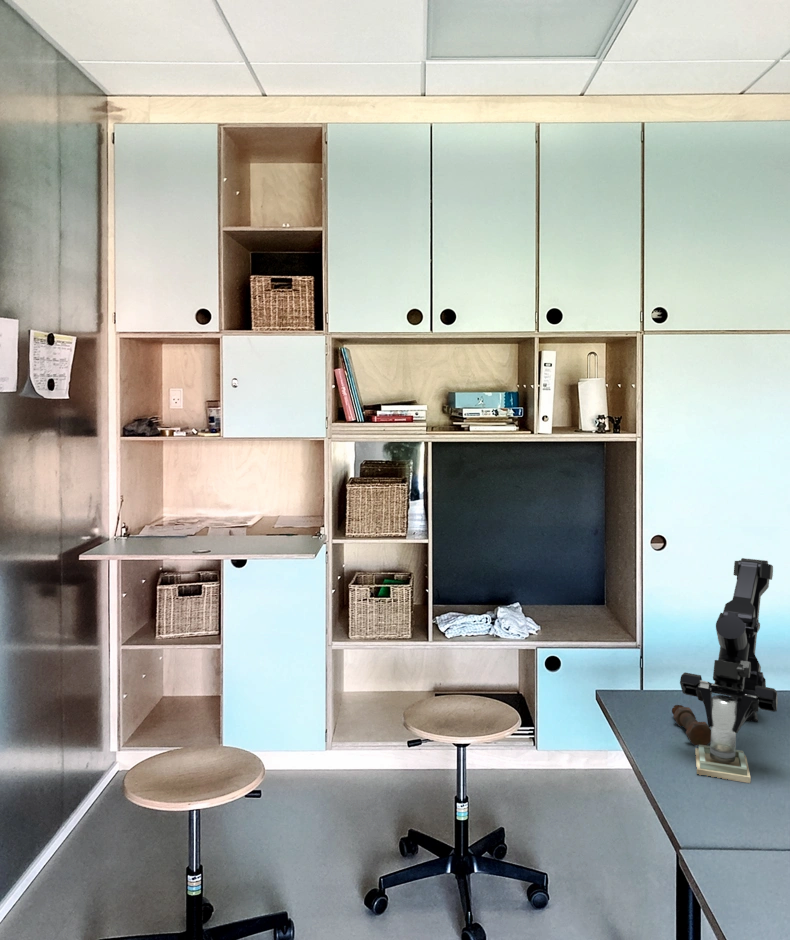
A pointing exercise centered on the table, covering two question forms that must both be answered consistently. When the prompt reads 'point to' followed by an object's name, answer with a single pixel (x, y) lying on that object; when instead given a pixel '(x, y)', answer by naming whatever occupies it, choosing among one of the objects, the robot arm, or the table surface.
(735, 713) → the grey cylindrical piece
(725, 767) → the tray
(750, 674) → the robot arm
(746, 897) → the table surface
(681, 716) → the bolt
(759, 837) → the table surface
